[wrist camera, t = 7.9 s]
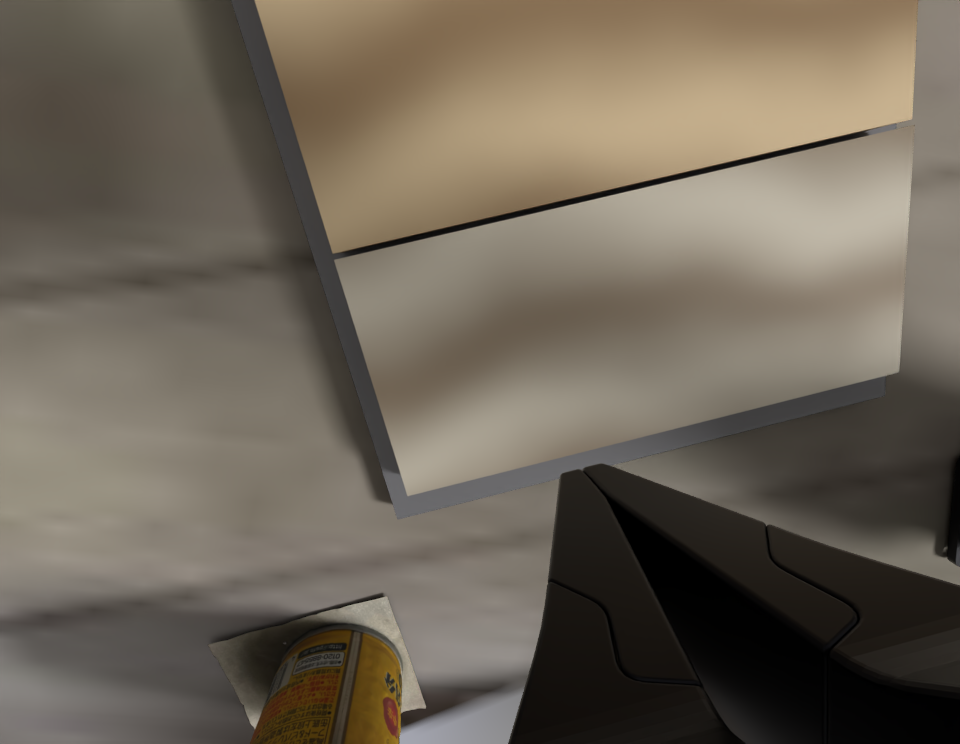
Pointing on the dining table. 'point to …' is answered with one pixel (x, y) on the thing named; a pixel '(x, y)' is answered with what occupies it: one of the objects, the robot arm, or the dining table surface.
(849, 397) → the underlay mat
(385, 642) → the condiment
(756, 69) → the plank
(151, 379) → the dining table surface
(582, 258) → the loose plank
